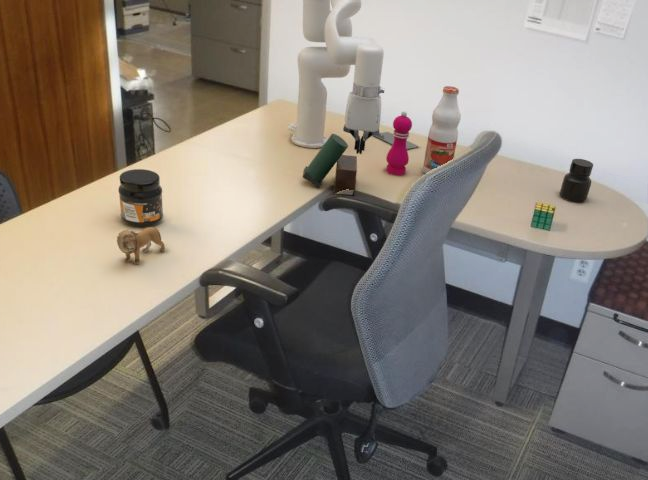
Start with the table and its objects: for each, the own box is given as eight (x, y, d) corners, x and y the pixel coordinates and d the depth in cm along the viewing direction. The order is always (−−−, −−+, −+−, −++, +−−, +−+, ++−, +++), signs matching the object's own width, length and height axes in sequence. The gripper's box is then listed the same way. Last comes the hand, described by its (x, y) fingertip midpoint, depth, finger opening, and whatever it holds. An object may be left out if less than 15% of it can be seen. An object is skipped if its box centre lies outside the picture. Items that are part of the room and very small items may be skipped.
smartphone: (403, 149, 252) (372, 134, 261) (403, 151, 252) (372, 135, 261) (418, 146, 257) (387, 131, 266) (418, 147, 257) (387, 132, 266)
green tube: (301, 186, 216) (305, 135, 207) (303, 178, 221) (306, 128, 212) (343, 190, 217) (348, 140, 208) (344, 183, 222) (349, 133, 213)
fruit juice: (442, 166, 244) (457, 83, 229) (455, 177, 237) (471, 92, 221) (417, 168, 240) (431, 83, 225) (430, 179, 233) (444, 92, 218)
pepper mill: (407, 169, 238) (416, 109, 227) (405, 177, 232) (415, 116, 221) (385, 166, 238) (393, 106, 227) (383, 174, 232) (392, 113, 221)
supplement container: (125, 231, 180) (122, 186, 173) (117, 212, 187) (113, 169, 180) (168, 226, 184) (166, 183, 178) (158, 209, 192) (156, 166, 185)
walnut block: (333, 194, 214) (336, 168, 210) (335, 178, 224) (337, 154, 220) (353, 196, 214) (356, 170, 210) (354, 180, 224) (356, 156, 220)
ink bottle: (589, 197, 237) (600, 162, 230) (584, 205, 230) (595, 170, 223) (561, 189, 240) (570, 154, 233) (555, 197, 233) (564, 162, 226)
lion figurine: (132, 273, 163) (129, 238, 158) (112, 266, 165) (109, 231, 160) (170, 248, 175) (169, 214, 170) (152, 242, 176) (150, 208, 172)
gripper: (391, 89, 207) (383, 150, 217) (339, 83, 206) (334, 145, 216) (392, 97, 201) (384, 159, 211) (339, 91, 199) (333, 154, 209)
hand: (359, 152), depth 213 cm, fingers closed
